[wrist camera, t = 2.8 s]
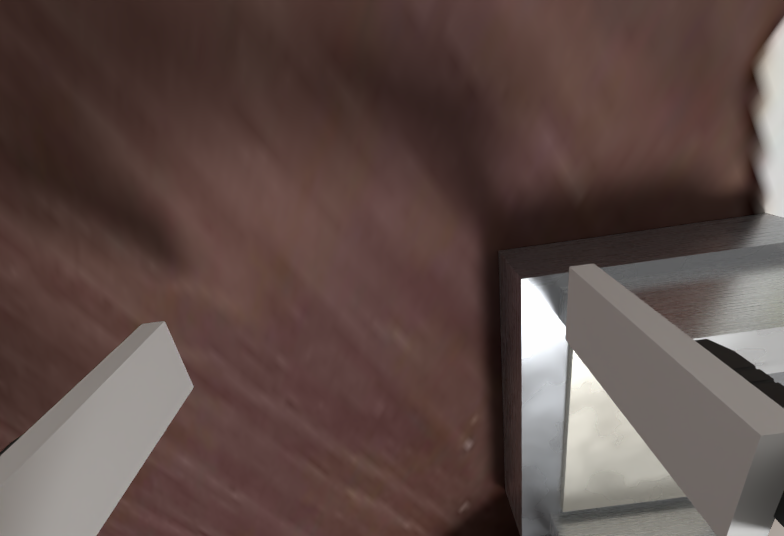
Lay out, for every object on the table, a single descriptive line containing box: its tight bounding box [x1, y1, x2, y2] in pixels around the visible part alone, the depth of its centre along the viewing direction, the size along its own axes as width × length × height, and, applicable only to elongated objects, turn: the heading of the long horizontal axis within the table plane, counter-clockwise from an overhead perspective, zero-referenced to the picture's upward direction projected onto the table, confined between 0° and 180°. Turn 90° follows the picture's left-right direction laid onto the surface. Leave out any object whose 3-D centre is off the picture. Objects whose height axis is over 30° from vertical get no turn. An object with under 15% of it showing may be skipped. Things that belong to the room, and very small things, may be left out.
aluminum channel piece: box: [498, 213, 784, 536], centre depth 17 cm, size 12×16×7 cm
